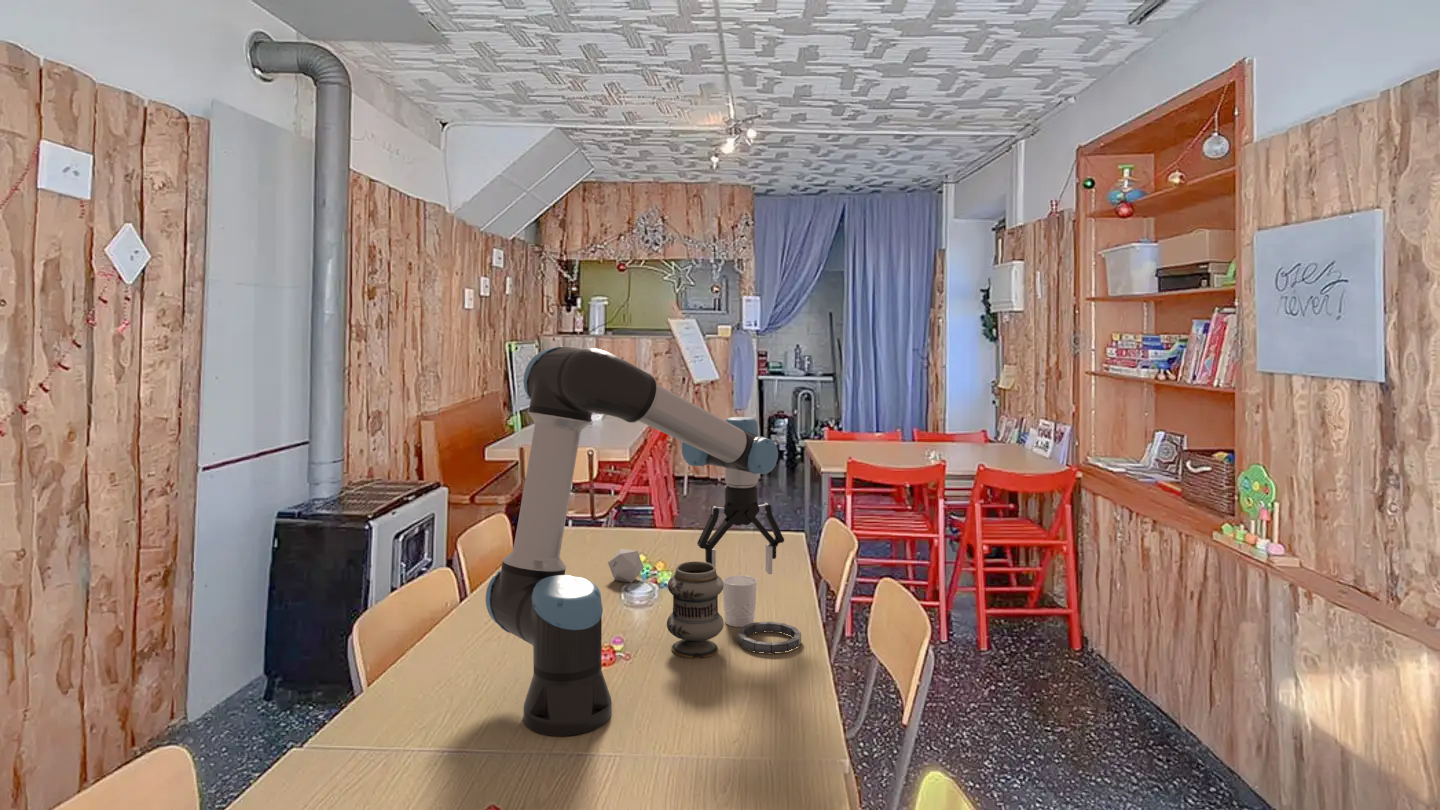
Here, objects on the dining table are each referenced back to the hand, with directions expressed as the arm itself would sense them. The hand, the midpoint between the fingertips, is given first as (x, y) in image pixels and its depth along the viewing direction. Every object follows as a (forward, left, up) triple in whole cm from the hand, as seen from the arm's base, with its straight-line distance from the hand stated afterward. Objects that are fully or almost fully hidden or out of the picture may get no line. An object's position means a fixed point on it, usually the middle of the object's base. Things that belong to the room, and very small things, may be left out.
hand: (741, 575), depth 185 cm
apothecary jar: (-14, +14, -11) cm, 23 cm away
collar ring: (-13, -3, -11) cm, 17 cm away
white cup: (0, 0, -11) cm, 11 cm away
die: (+38, +21, -11) cm, 45 cm away
